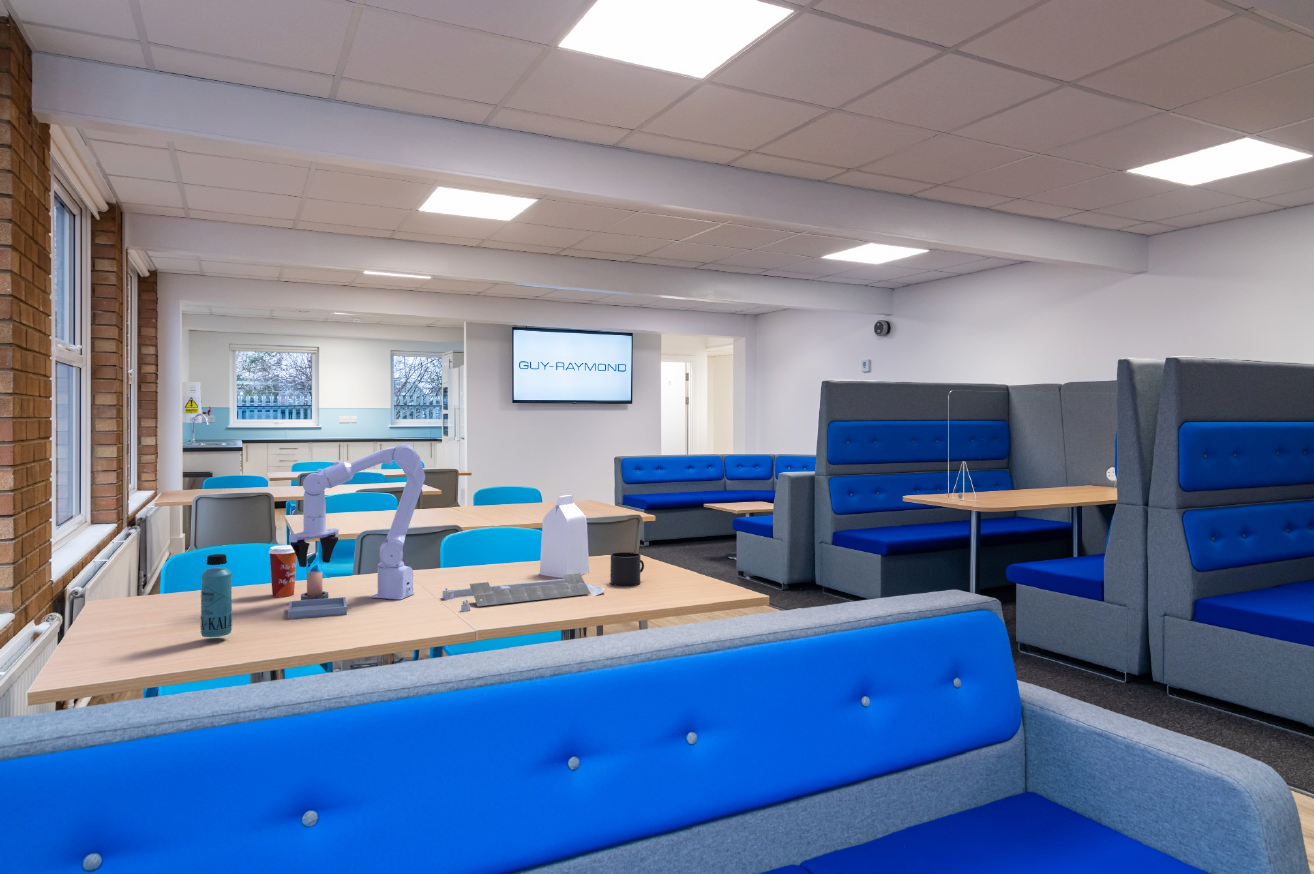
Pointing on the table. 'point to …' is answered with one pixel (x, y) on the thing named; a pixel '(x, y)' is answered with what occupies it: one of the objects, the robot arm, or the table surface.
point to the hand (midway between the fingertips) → (314, 564)
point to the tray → (317, 608)
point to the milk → (564, 540)
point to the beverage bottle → (216, 599)
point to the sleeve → (323, 596)
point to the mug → (625, 568)
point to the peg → (314, 583)
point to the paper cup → (282, 570)
